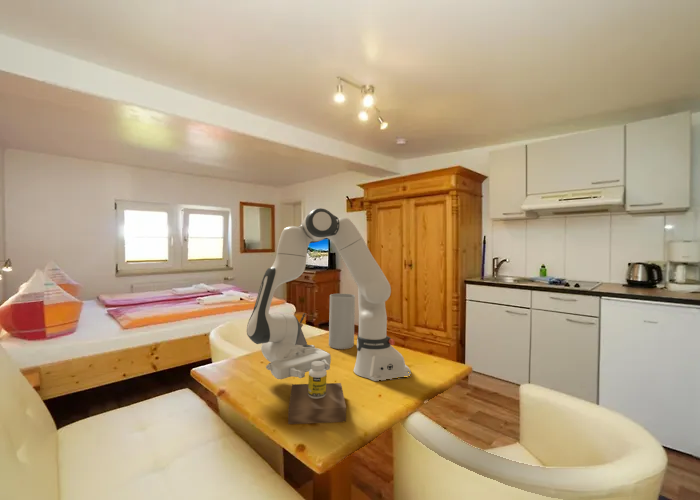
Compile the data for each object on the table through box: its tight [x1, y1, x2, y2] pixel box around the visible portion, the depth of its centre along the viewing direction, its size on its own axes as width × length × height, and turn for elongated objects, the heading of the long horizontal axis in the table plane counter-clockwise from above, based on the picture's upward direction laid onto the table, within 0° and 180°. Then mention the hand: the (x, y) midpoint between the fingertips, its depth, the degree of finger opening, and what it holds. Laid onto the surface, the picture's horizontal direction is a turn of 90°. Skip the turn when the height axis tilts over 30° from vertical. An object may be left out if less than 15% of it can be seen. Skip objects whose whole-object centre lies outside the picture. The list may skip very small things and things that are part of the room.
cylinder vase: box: [328, 293, 356, 350], centre depth 157 cm, size 12×12×25 cm
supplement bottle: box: [307, 361, 327, 399], centre depth 96 cm, size 5×5×10 cm
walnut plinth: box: [287, 382, 347, 425], centre depth 96 cm, size 16×16×4 cm
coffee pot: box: [296, 312, 309, 345], centre depth 152 cm, size 21×12×15 cm, turn 172°
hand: (315, 371), depth 97 cm, fingers open, 8 cm apart
